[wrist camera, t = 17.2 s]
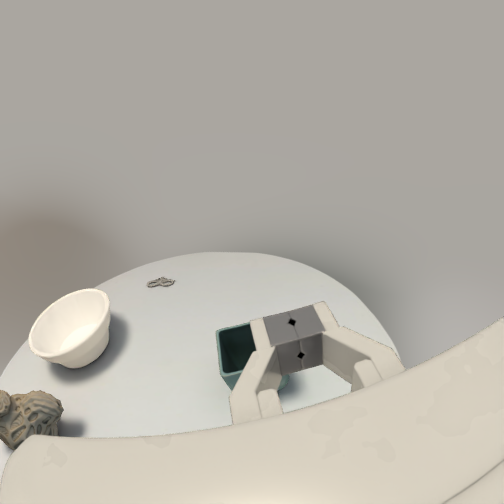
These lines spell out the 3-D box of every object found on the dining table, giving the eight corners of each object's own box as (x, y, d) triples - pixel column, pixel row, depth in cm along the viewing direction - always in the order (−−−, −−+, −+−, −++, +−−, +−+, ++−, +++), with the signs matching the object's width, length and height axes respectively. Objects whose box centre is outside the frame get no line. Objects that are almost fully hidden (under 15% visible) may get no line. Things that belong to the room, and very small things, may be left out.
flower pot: (229, 366, 46) (214, 329, 42) (281, 354, 47) (274, 314, 42) (236, 411, 39) (220, 376, 34) (296, 396, 39) (290, 359, 35)
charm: (144, 285, 71) (149, 277, 74) (144, 287, 71) (150, 279, 74) (172, 284, 69) (176, 275, 72) (172, 286, 69) (177, 277, 72)
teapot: (83, 404, 41) (34, 346, 34) (89, 457, 32) (25, 405, 24) (7, 425, 35) (-42, 376, 28) (5, 472, 26) (-55, 425, 18)
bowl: (41, 392, 44) (18, 365, 40) (56, 328, 61) (40, 303, 57) (126, 371, 48) (105, 341, 44) (126, 306, 66) (112, 277, 61)
